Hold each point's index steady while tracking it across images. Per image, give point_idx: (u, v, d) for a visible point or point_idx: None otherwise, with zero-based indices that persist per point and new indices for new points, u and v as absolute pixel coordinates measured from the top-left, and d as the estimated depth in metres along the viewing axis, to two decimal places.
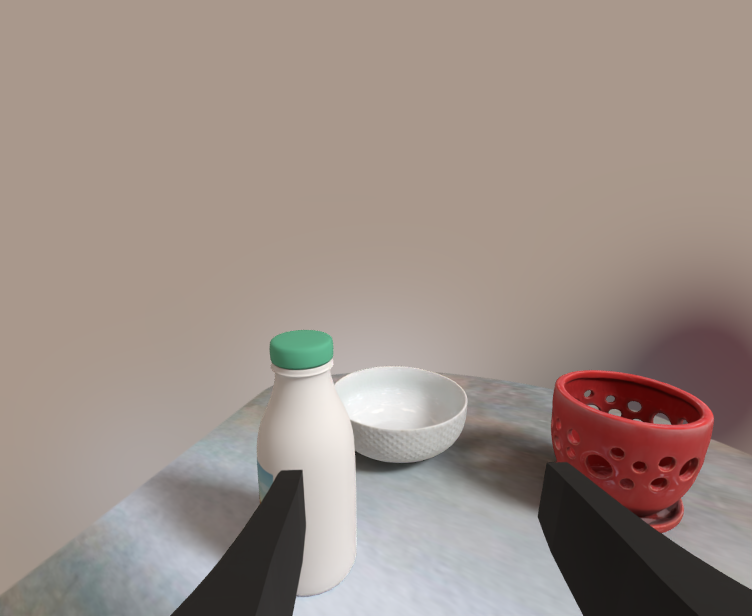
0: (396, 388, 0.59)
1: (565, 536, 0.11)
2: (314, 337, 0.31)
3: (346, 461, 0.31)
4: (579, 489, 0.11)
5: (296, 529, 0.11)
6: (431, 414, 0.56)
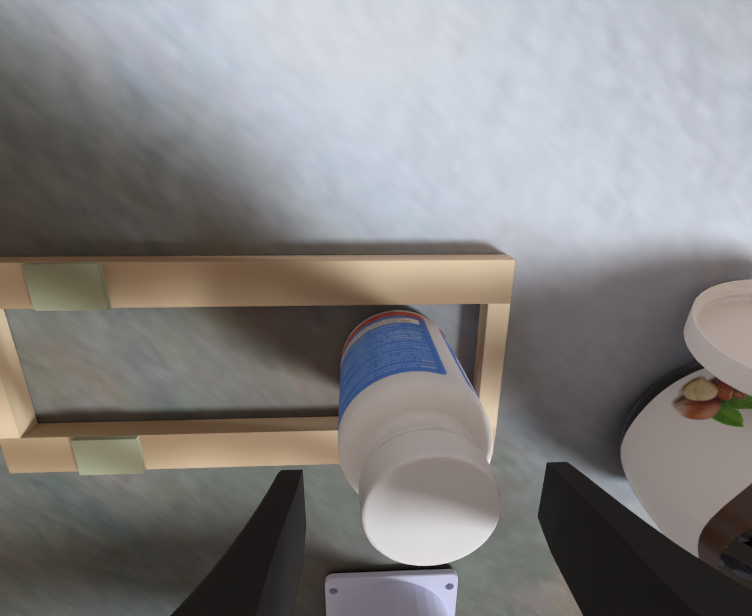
0: None
1: (565, 536, 0.11)
2: None
3: None
4: (579, 489, 0.11)
5: (296, 529, 0.11)
6: None
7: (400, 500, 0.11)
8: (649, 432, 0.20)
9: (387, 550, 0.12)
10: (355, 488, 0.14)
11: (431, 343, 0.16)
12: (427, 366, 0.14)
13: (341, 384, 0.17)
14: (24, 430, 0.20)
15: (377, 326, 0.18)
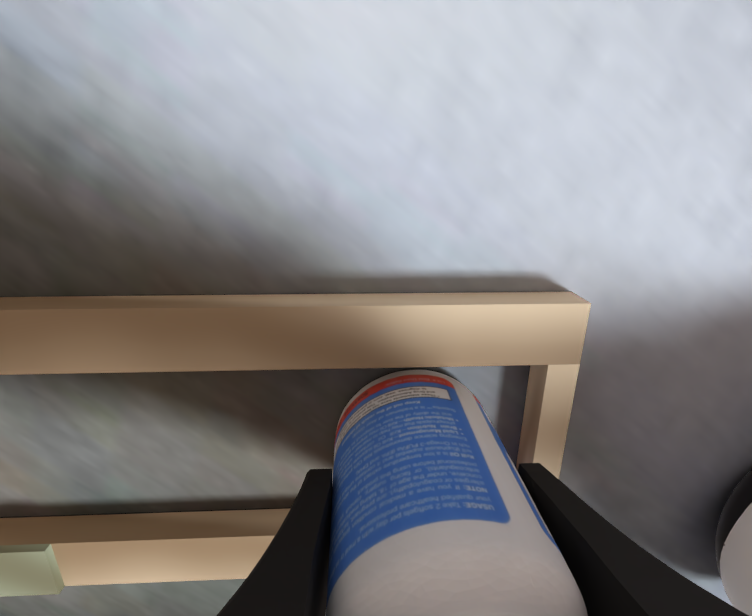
0: None
1: None
2: None
3: None
4: (547, 490, 0.11)
5: (328, 528, 0.11)
6: None
7: None
8: None
9: None
10: None
11: (473, 440, 0.11)
12: (477, 506, 0.08)
13: (333, 499, 0.11)
14: None
15: (387, 402, 0.12)
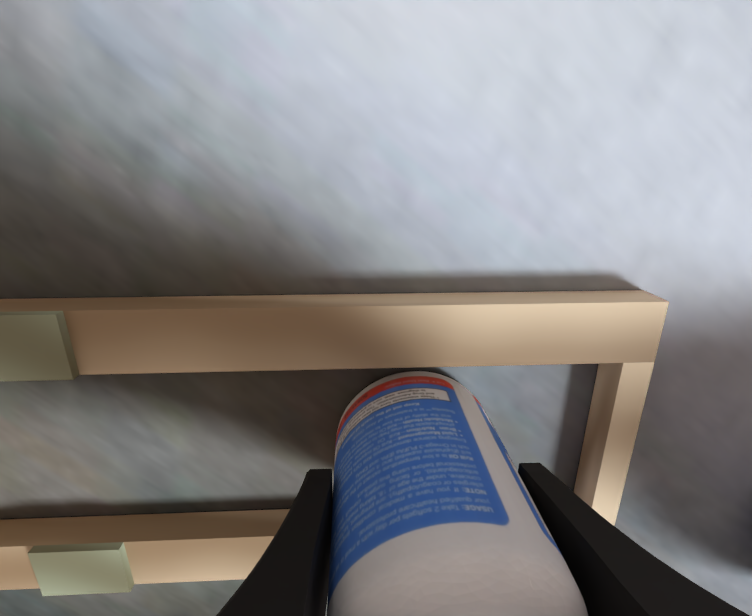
0: None
1: None
2: None
3: None
4: (548, 490, 0.11)
5: (328, 528, 0.11)
6: None
7: None
8: None
9: None
10: None
11: (472, 442, 0.11)
12: (476, 508, 0.08)
13: (334, 502, 0.11)
14: None
15: (387, 404, 0.12)
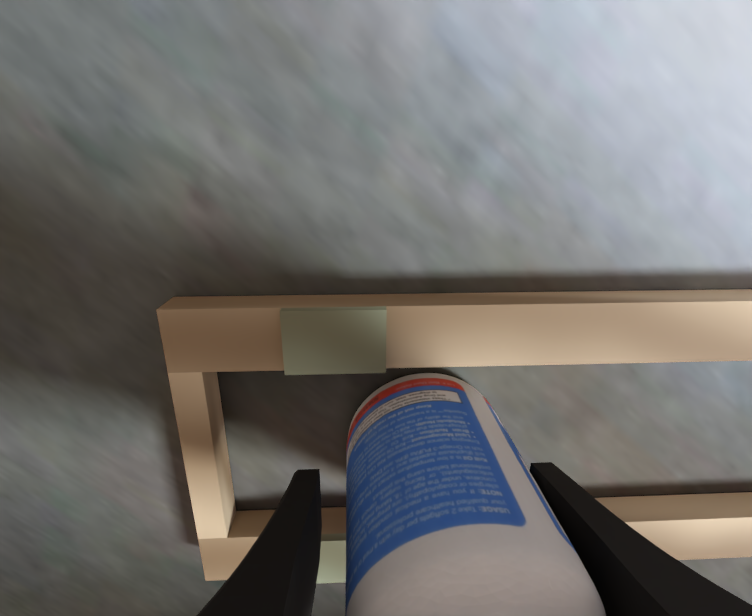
0: None
1: None
2: None
3: None
4: (561, 490, 0.11)
5: (314, 528, 0.11)
6: None
7: None
8: None
9: None
10: None
11: (485, 443, 0.11)
12: (493, 509, 0.08)
13: (348, 505, 0.11)
14: (229, 526, 0.15)
15: (398, 406, 0.12)
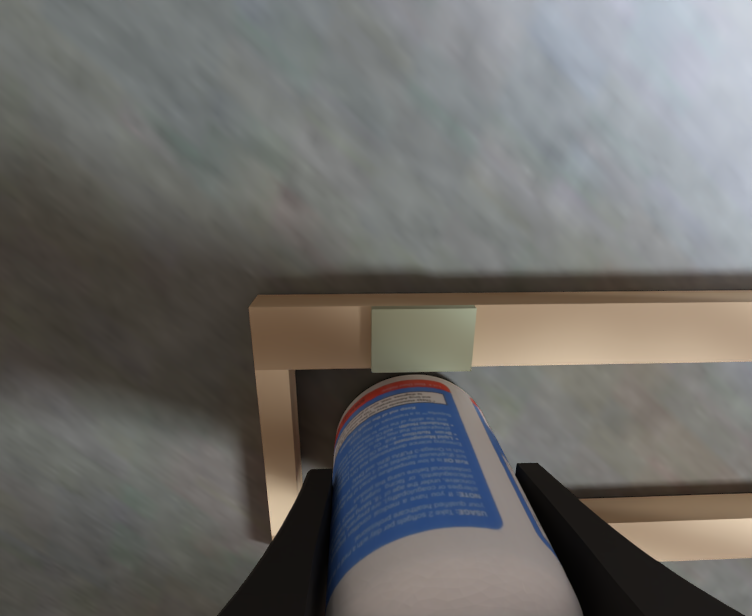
0: None
1: None
2: None
3: None
4: (545, 490, 0.11)
5: (328, 528, 0.11)
6: None
7: None
8: None
9: None
10: None
11: (468, 445, 0.11)
12: (469, 513, 0.08)
13: (332, 508, 0.11)
14: None
15: (383, 408, 0.12)
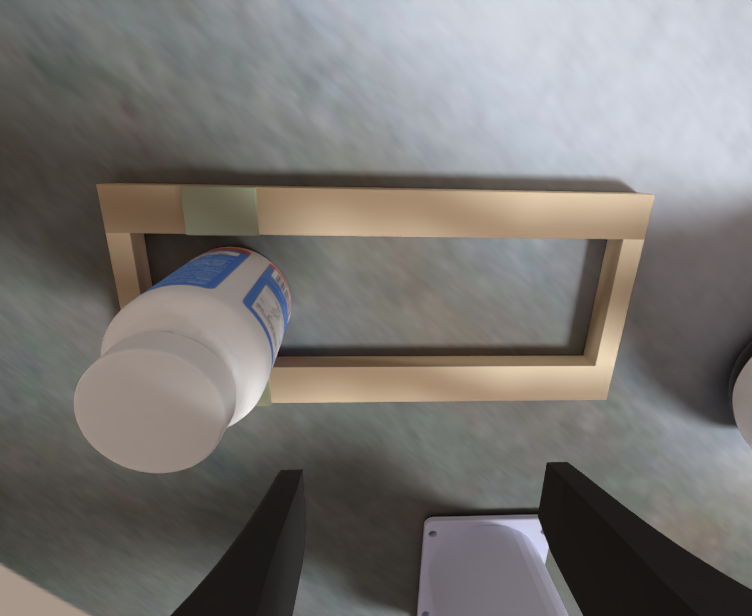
0: None
1: (565, 537, 0.11)
2: None
3: None
4: (579, 489, 0.11)
5: (296, 529, 0.11)
6: None
7: (110, 400, 0.11)
8: None
9: (114, 456, 0.12)
10: None
11: (230, 269, 0.16)
12: (194, 282, 0.14)
13: None
14: None
15: (194, 259, 0.18)
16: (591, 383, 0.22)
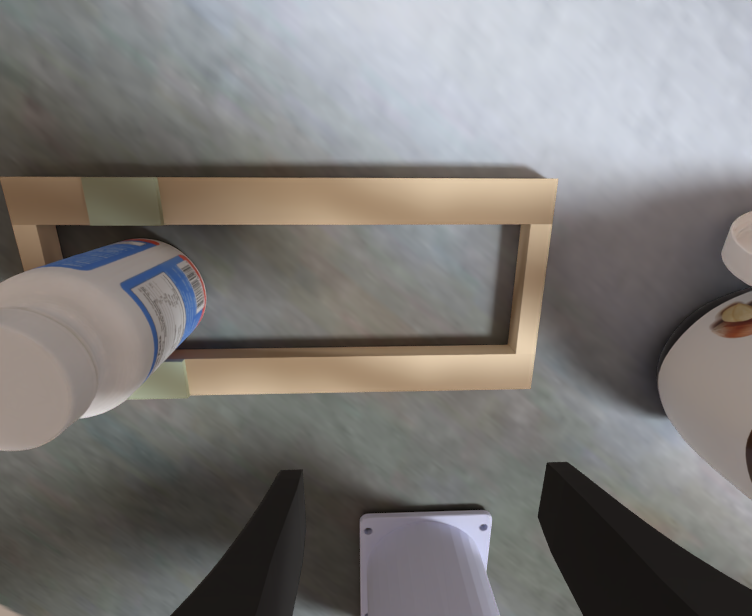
0: None
1: (565, 537, 0.11)
2: None
3: None
4: (579, 489, 0.11)
5: (296, 529, 0.11)
6: None
7: None
8: (688, 356, 0.20)
9: None
10: None
11: (122, 255, 0.16)
12: (69, 264, 0.14)
13: None
14: None
15: None
16: (513, 372, 0.21)
